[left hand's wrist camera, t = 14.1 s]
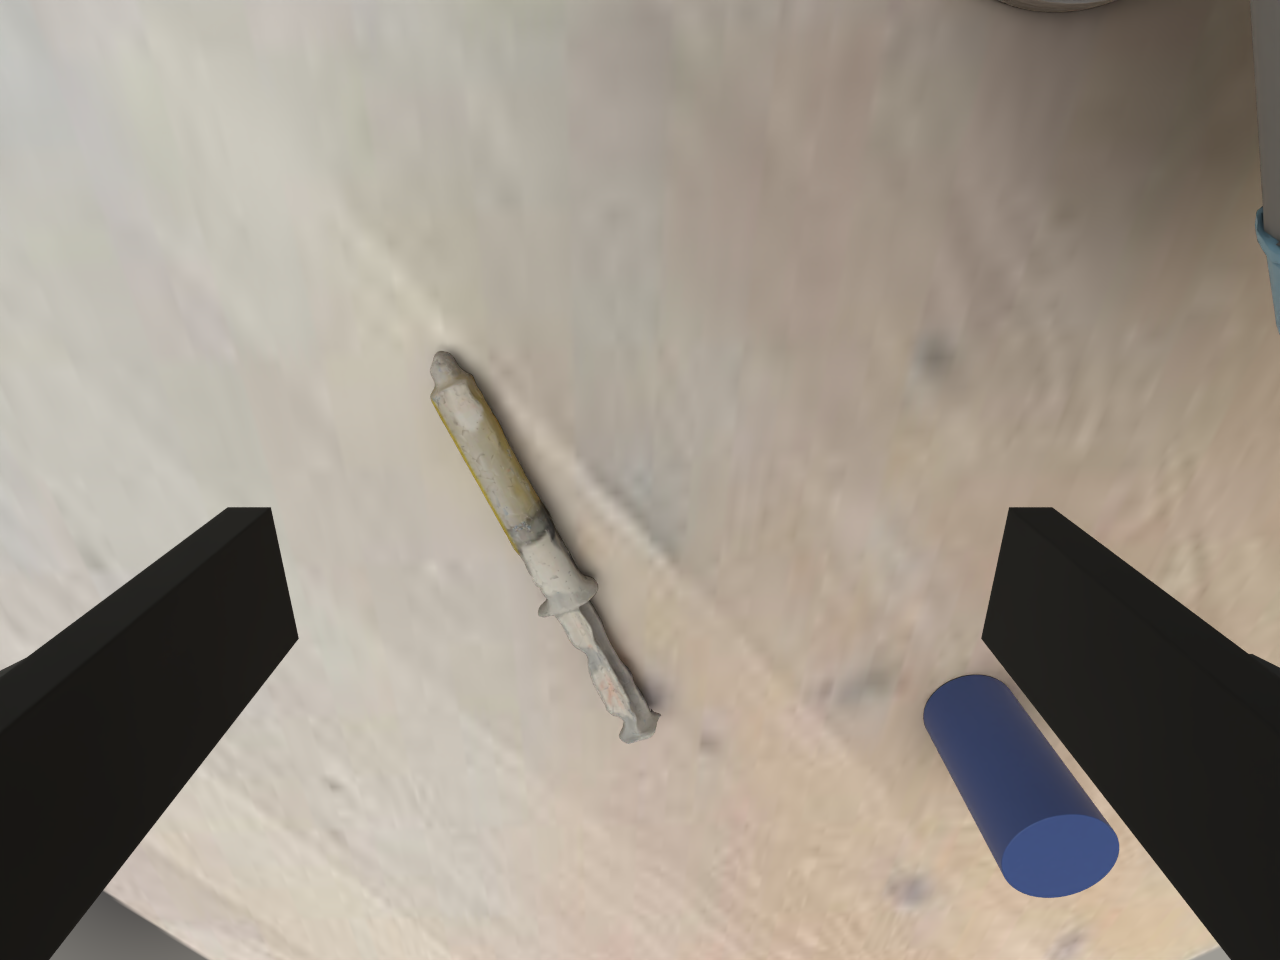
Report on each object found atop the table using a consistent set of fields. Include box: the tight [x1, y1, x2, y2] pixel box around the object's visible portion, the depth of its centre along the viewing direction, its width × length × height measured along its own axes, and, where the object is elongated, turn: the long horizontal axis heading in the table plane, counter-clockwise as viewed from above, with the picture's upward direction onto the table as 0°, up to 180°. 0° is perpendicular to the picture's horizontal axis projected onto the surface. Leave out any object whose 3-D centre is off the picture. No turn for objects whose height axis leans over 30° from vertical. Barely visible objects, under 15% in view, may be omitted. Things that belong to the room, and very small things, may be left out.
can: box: [924, 675, 1119, 898], centre depth 39 cm, size 6×6×10 cm
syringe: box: [430, 351, 661, 744], centre depth 38 cm, size 25×4×3 cm, turn 22°
